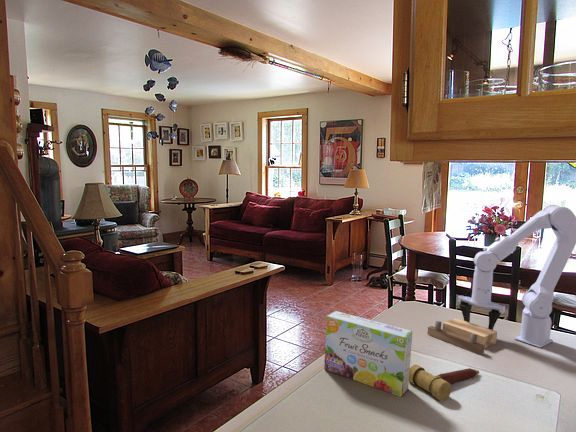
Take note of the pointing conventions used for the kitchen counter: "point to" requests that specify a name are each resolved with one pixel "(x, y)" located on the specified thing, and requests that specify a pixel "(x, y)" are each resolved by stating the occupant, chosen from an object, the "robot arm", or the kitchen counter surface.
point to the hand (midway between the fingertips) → (478, 328)
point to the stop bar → (456, 339)
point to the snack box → (368, 352)
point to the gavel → (439, 380)
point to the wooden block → (470, 331)
